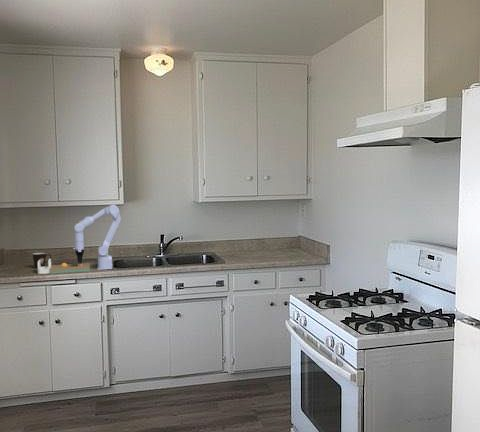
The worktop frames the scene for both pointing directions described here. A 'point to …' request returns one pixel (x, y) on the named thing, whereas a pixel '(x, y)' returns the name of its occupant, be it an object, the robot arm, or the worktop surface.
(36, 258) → the coffee mug
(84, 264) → the pitch
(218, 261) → the worktop surface
